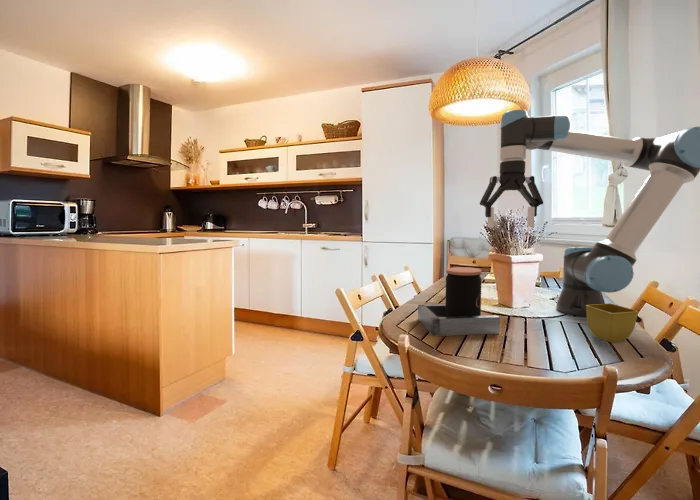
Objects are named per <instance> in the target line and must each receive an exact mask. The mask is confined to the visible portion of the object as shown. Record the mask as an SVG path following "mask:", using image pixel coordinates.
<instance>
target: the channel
mask: <svg viewBox="0 0 700 500" xmlns="http://www.w3.org/2000/svg"><path fill="white" fill-rule="evenodd" d="M445 306H446V303H439V304H438V303H436V304H434V303H433V304H431V303H430V304H418V305H417V320H418V321H419V322H420V323H421V325H422V326H423V325H424V326H423V327H424V328H425V329H426V330H427V331H428V332H429V333H430V334H431V336H432V337H441V336H442V337H446V336H470V335H475V336H477V335H496V334H498V335H499V334H500V331H501V329H500V327H501V325H500V324H501V317H500V316H499V315H494V314H493V315H481V316H459V317H445Z"/></svg>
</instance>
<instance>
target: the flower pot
mask: <svg viewBox="0 0 700 500" xmlns="http://www.w3.org/2000/svg"><path fill="white" fill-rule="evenodd" d="M586 314H587V316H586V321H587V322H586V323H587V326H588V328H589V330H590V332H591V334H592V336H594V337H595V338H597V339H600V340H603V341H605V342H608V343H616V342H617V343H618V342H619V343H620V342H625V341H626V340H627V339H628V338H630V336H631V335H632V333H633V332H634V329H635V327H636V323H637V319H638V316H639V310H637V309H636V310H635V309H632V308H628V307H625V306H622V305H618V304H614V303H611V302H610V303H609V302H608V303H605V304H594V305H586Z"/></svg>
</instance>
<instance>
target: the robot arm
mask: <svg viewBox="0 0 700 500" xmlns="http://www.w3.org/2000/svg"><path fill="white" fill-rule="evenodd" d="M500 123H501V124H500V152H499V155H500V156H499V157H500V158H499V160H500V161H501V162H500V163H499V176H497V175H494V176H490V178H489V184H488V186H487V188H486V189H485V191H484V194H483V195H482V197H481V200H480V201H479V205H480V206H483V207H484V208H485V211H484V214H485V215H484V216H485V218H487V228H492V229H493V228H494V224H495V223H494V221H495V220H494V219H495V207H492V206H493V205H494V204H495V202H496V201H497V200H498V199H499V198H500V197H501V195H502V194H503V193H504V192H506V191H507V192H508V191H517V192H519V193H520V195H522V197H523V198H524V200H525V201H526V202H527V203H528V204H529V206H528V207H527V219H526V220H527V223H526V224H527V225H526V226H527V228H534V227H535V217H537V215H538V207H540V206H541V205H544V201H543V199H542V196H541V193H540V191H539V189H538V186H537V184H536V177H535V176H534V175H529V176H525V173H526V161H525V159H526V157H527V156H526V155H527V150H529V151H531V150H541V151H542V150H543V151H550V152H556V153H563V154H568V155H575V156H579V157H580V156H581V157H586V158H592V159H599V160H605V161H612V162H617V163H618V162H619V163H622V164H623V165H624V166H625V167H628V168H634V169H639V170H645V171H650V173H649V175H648V176H647V177H646V179H645V181H644V182H643V183H642V185H641V186H640V188H639V189H638V191H637V192H636V194H635V195H634V196H633V198H632V199H631V201H630V203H629V204H628V205H627V207H626V208H625V210H624V211H623V213H622V215H620V217H619V219H618V220H617V221H616V223H615V225H614V226H613V227H612V229H611V230H610V232H609V234H608V235H607V236H606V238H605V239H603V240H601V241H597V242H595V244H594V246H573V247H572V246H571V247H566V248H565V250H564V254H563V274H562V275H563V276H562V289H561V292H560V294H559V295H558V299H557V301H556V310H557V311H559V312H561V313H565V314H567V315H573V316H581V317H587V314H586V305H594V304H606V303H605V298H604V295H603V293H608V294H609V293H616V292H620V291H622V290H624V289H625V288H627V287H628V286H630V284H631V282H632V281H633V278H634V268H633V267H634V265H635V264H636V262H637V261H638V259H637V257H636V252H637V250H638V249H639V248H640V246H641V245H642V243H644V241H645V239H646V238H647V236H648V235H649V234H650V233H651V231H652V229H654V227H655V225H656V223H657V222H658V221H659V219H660V217H661V216H662V214H663V213H664V212H665V211H666V209H667V208H668V206H669V205H670V203H672V201H673V199H674V198H675V197H676V195H677V194H678V192H679V191H680V189H681V188H682V187H683V185H684V184H687V183H690V182H693V181H695V178H696V177H697V176H698V175H699V173H700V126H693V127H686V128H683V129H682V130H680V131H676V132H674V133H673V132H672V133H670V134H666V135H663V136H659V137H651V138H649V137H648V138H647V137H646V138H645V137H639V136H637V137H634V138H633V139H629V138H623V137H616V136H610V135H603V134H596V133H591V132H583V131H577V130H570V128H571V121H570V118H569V116H568V115H563V114H561V115H560V114H559V115H557V114H555V115H545V116H543V115H542V116H529V115H528V111H527V110H525V109H512V110H511V109H510V110H507V111H506V112H504V113H503V114H502V116H501V122H500ZM498 182H499V186H498V188H497V190H496V191H494V190H495V188H496V185H497V183H498ZM524 183H526V184H527V186H526V185H525V184H524ZM527 187H528V189H527ZM528 190H529V191H528ZM493 191H494V193H493ZM491 195H492V196H491Z"/></svg>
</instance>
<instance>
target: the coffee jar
mask: <svg viewBox="0 0 700 500" xmlns="http://www.w3.org/2000/svg"><path fill="white" fill-rule="evenodd" d="M445 272H446V273H447V275H446V277H445V304H446V306H445V317H459V316H482V314H481V313H482V311H481V310H482V277H481V274H482V270H481V269H480V268H478V267H477V268H475V267H468V266H465V267H464V266H457V267H456V266H455V267H452V266H451V267H447V268H446V269H445Z"/></svg>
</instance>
